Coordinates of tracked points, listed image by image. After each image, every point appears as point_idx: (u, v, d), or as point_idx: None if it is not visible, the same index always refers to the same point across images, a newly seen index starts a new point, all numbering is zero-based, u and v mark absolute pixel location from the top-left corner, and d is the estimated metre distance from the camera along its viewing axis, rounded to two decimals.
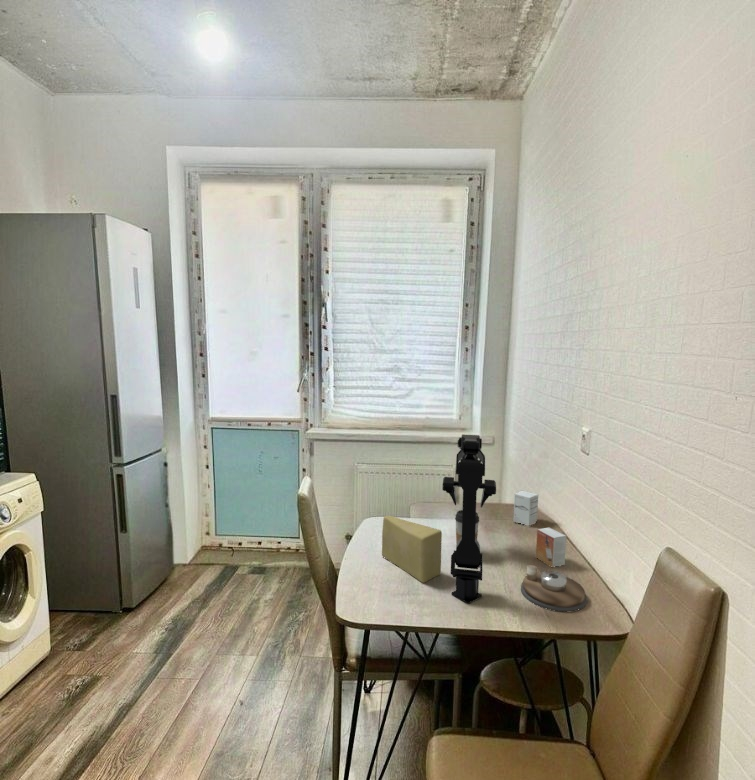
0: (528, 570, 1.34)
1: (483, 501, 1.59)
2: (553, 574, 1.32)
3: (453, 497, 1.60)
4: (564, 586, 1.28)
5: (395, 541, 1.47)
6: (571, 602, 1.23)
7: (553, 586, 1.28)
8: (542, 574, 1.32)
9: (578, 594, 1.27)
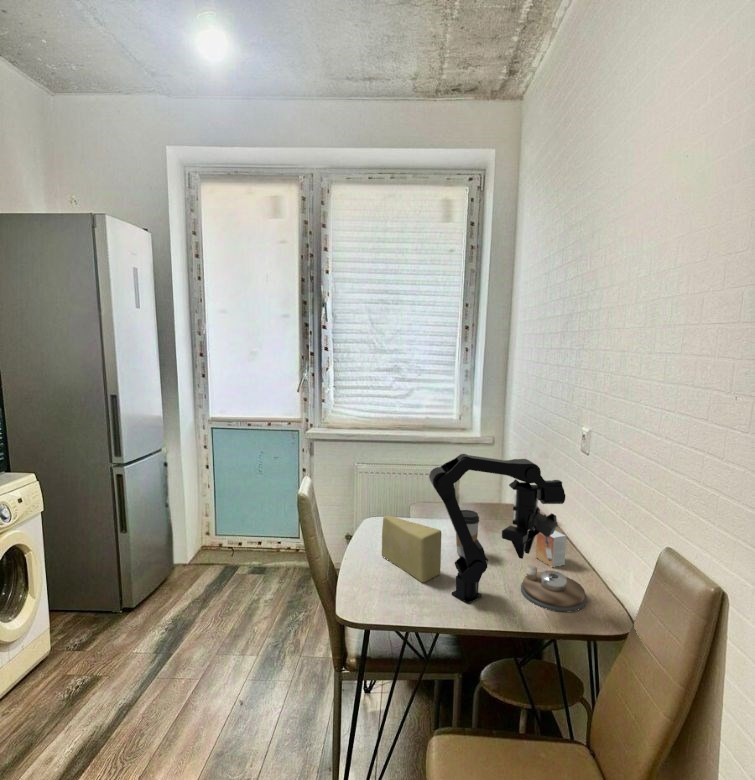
0: (528, 570, 1.34)
1: None
2: (553, 574, 1.32)
3: None
4: (564, 586, 1.28)
5: (395, 541, 1.47)
6: (571, 602, 1.23)
7: (553, 586, 1.28)
8: (542, 574, 1.32)
9: (578, 594, 1.27)
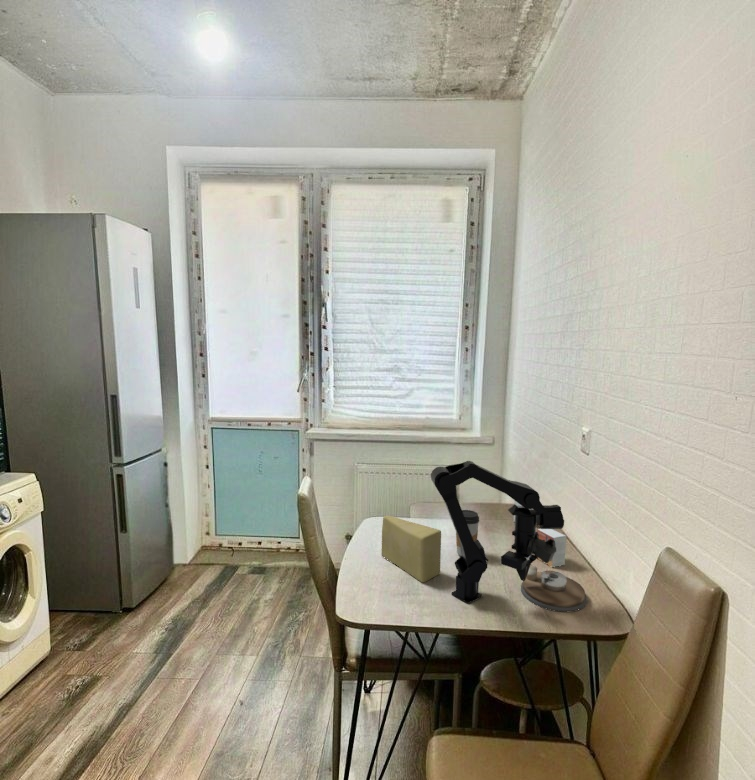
0: None
1: None
2: (553, 574, 1.32)
3: None
4: (564, 586, 1.28)
5: (394, 541, 1.47)
6: (571, 602, 1.23)
7: (553, 586, 1.28)
8: (542, 574, 1.32)
9: (578, 594, 1.27)
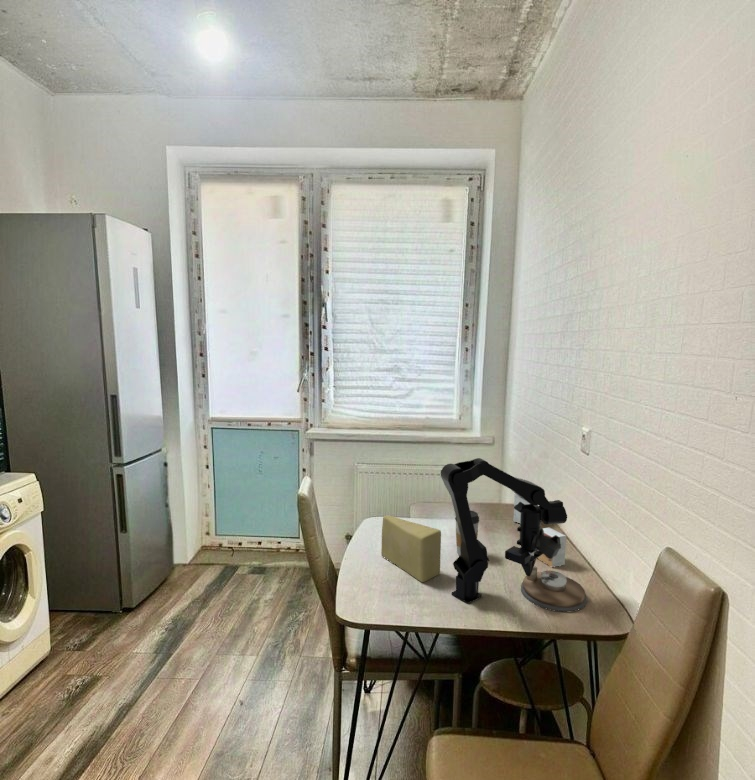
0: None
1: None
2: (553, 574, 1.32)
3: None
4: (564, 586, 1.28)
5: (394, 541, 1.47)
6: (571, 602, 1.23)
7: (553, 586, 1.28)
8: (542, 574, 1.32)
9: (578, 594, 1.27)
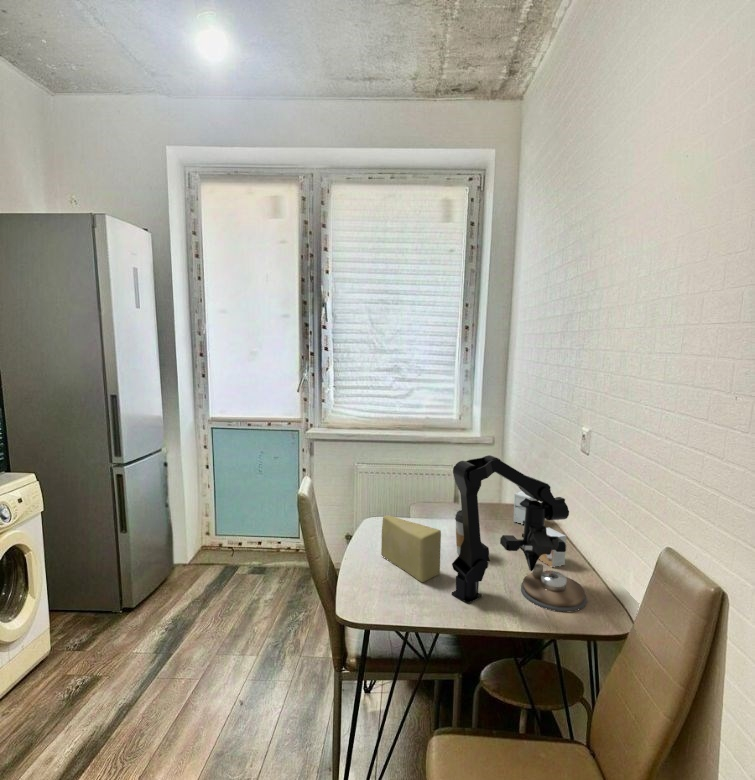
0: None
1: None
2: (554, 574, 1.31)
3: None
4: (560, 587, 1.28)
5: (394, 541, 1.47)
6: (557, 602, 1.23)
7: (547, 584, 1.29)
8: (543, 572, 1.33)
9: (573, 597, 1.25)
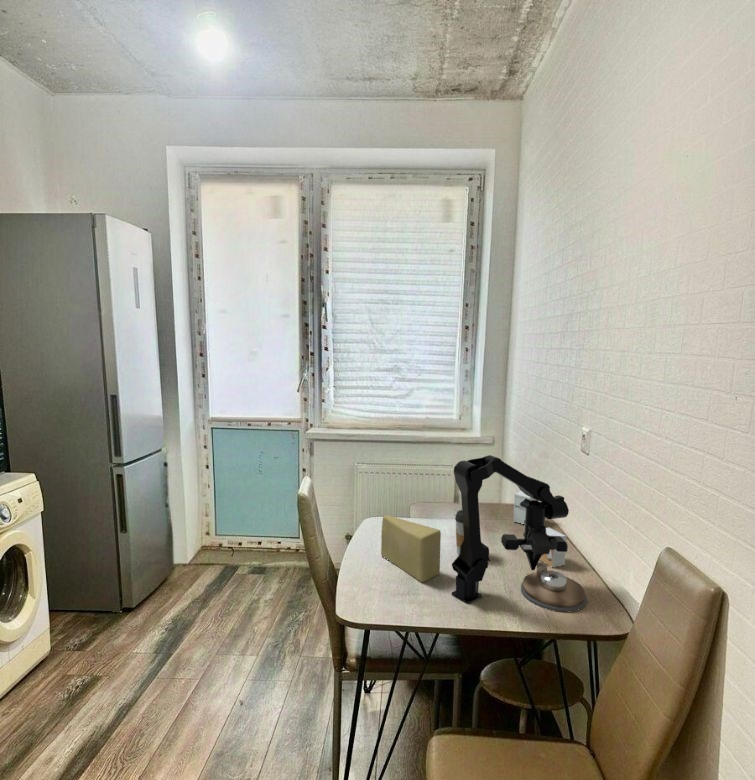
0: (537, 565, 1.38)
1: None
2: (555, 575, 1.31)
3: None
4: (557, 587, 1.27)
5: (394, 541, 1.47)
6: (550, 601, 1.23)
7: (544, 583, 1.29)
8: (544, 571, 1.33)
9: (568, 598, 1.24)
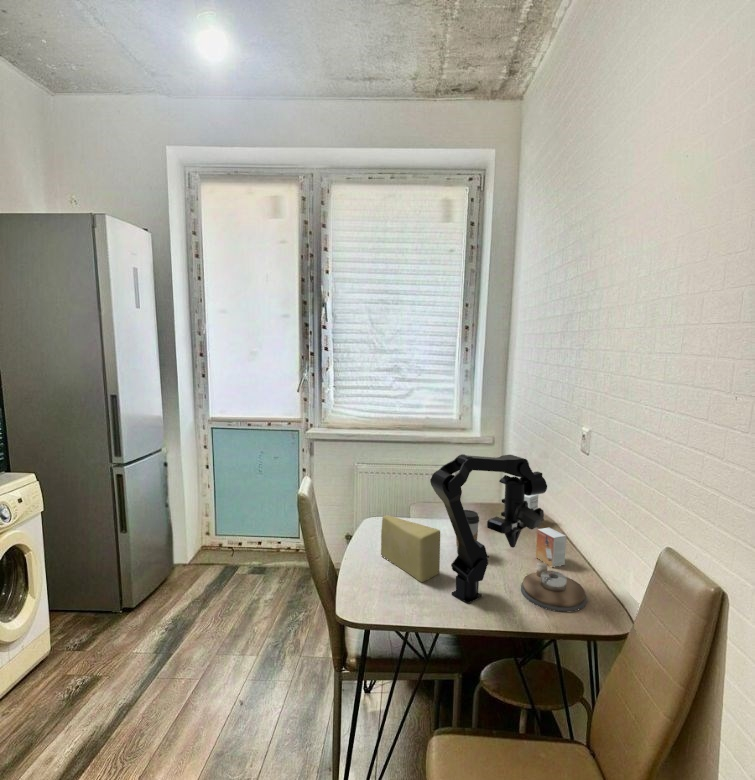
0: (537, 565, 1.38)
1: None
2: (555, 575, 1.31)
3: None
4: (557, 587, 1.27)
5: (394, 541, 1.47)
6: (550, 601, 1.23)
7: (544, 583, 1.29)
8: (544, 571, 1.33)
9: (568, 598, 1.24)
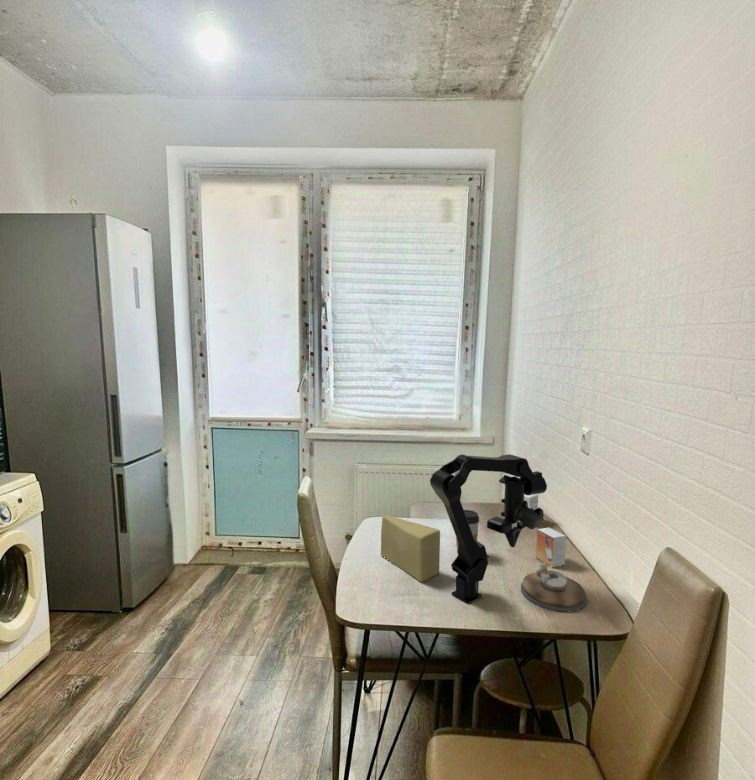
0: (537, 565, 1.38)
1: None
2: (555, 575, 1.31)
3: None
4: (557, 587, 1.27)
5: (393, 541, 1.47)
6: (550, 601, 1.23)
7: (544, 583, 1.29)
8: (544, 571, 1.33)
9: (568, 598, 1.24)
